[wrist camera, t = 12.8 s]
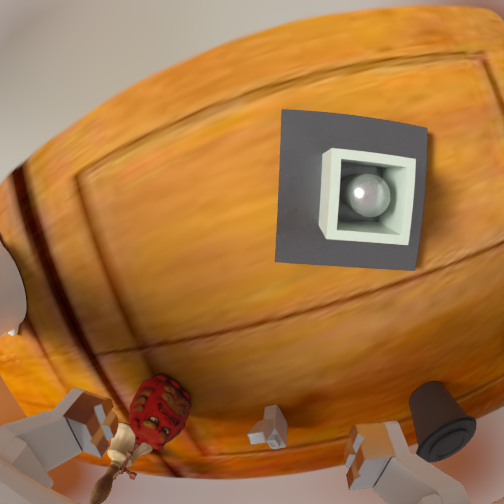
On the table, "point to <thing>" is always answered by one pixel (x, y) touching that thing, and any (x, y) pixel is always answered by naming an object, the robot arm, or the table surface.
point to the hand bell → (117, 461)
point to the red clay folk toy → (156, 415)
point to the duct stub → (343, 188)
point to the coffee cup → (439, 422)
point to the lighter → (270, 428)
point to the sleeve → (391, 220)
